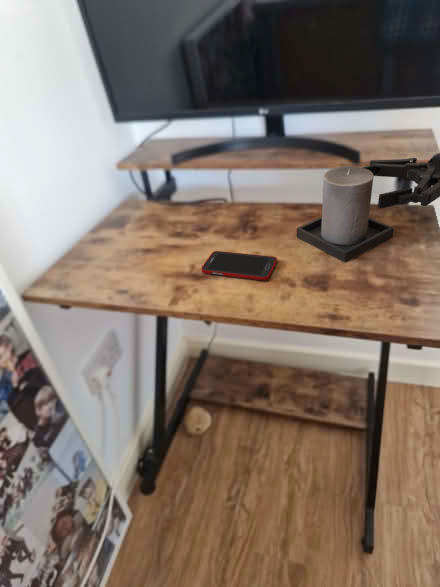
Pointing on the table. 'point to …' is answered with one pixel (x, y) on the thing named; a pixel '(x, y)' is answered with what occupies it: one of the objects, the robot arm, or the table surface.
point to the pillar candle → (346, 205)
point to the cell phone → (240, 265)
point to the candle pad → (344, 253)
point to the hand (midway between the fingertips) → (361, 188)
